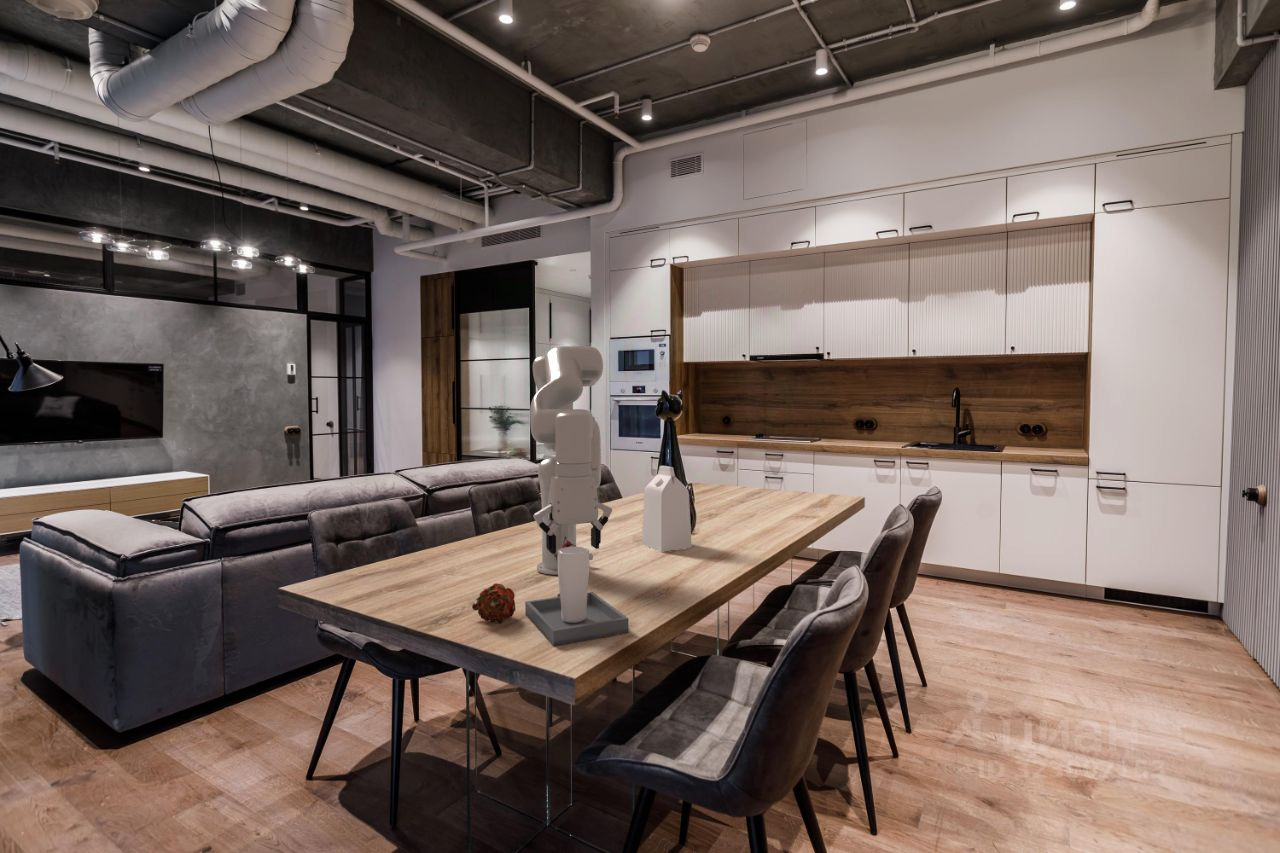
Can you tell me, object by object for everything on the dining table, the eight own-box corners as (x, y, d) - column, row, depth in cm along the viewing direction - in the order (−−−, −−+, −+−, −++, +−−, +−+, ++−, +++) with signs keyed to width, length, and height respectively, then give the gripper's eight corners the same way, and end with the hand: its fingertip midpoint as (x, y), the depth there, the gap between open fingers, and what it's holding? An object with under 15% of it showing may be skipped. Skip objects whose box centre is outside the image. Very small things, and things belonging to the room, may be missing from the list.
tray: (592, 604, 149) (592, 591, 149) (628, 632, 131) (628, 618, 131) (525, 614, 142) (525, 601, 142) (553, 646, 124) (553, 630, 124)
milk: (691, 548, 205) (691, 467, 204) (661, 552, 199) (661, 469, 198) (671, 541, 215) (671, 464, 214) (641, 545, 210) (641, 466, 208)
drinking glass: (585, 626, 133) (584, 554, 132) (553, 624, 134) (553, 553, 133) (593, 615, 139) (592, 547, 139) (563, 613, 140) (562, 545, 140)
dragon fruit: (501, 637, 133) (486, 628, 143) (531, 608, 136) (514, 600, 147) (475, 608, 131) (462, 600, 142) (506, 578, 135) (491, 573, 145)
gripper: (604, 465, 142) (604, 541, 144) (528, 470, 135) (529, 550, 136) (618, 470, 136) (618, 549, 137) (539, 475, 128) (539, 559, 129)
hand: (573, 549), depth 137 cm, fingers open, 9 cm apart
